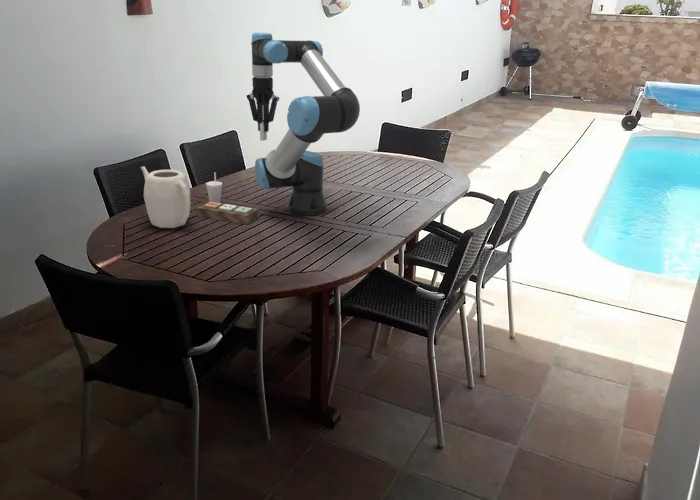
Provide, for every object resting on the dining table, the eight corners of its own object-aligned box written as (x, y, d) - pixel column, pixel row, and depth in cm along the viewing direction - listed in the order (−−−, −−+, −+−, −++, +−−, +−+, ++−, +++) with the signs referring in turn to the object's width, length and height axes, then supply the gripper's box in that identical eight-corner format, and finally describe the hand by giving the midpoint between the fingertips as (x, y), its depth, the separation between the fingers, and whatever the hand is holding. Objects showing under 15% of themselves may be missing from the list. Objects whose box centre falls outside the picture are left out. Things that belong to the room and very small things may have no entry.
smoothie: (219, 210, 236) (218, 175, 231) (204, 208, 237) (202, 173, 232) (226, 205, 242) (224, 171, 237) (210, 204, 243) (209, 169, 238)
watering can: (163, 210, 233) (159, 162, 226) (208, 226, 218) (205, 175, 211) (127, 219, 222) (122, 169, 215) (172, 237, 207) (168, 183, 200)
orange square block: (222, 212, 232) (222, 203, 230) (215, 216, 227) (215, 206, 226) (211, 210, 233) (210, 201, 232) (204, 214, 229) (203, 205, 228)
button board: (258, 217, 229) (258, 208, 228) (247, 224, 221) (246, 215, 220) (210, 210, 236) (210, 201, 234) (197, 216, 228) (197, 207, 227)
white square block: (237, 214, 230) (237, 205, 228) (230, 218, 225) (230, 209, 224) (226, 212, 231) (225, 203, 230) (219, 216, 227) (218, 207, 226)
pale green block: (252, 217, 228) (252, 208, 226) (246, 221, 223) (245, 211, 222) (241, 215, 229) (240, 206, 228) (234, 219, 225) (233, 209, 224)
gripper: (282, 77, 227) (283, 140, 236) (251, 74, 231) (253, 136, 240) (273, 78, 220) (274, 143, 229) (242, 76, 224) (243, 139, 233)
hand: (263, 139), depth 234 cm, fingers closed
